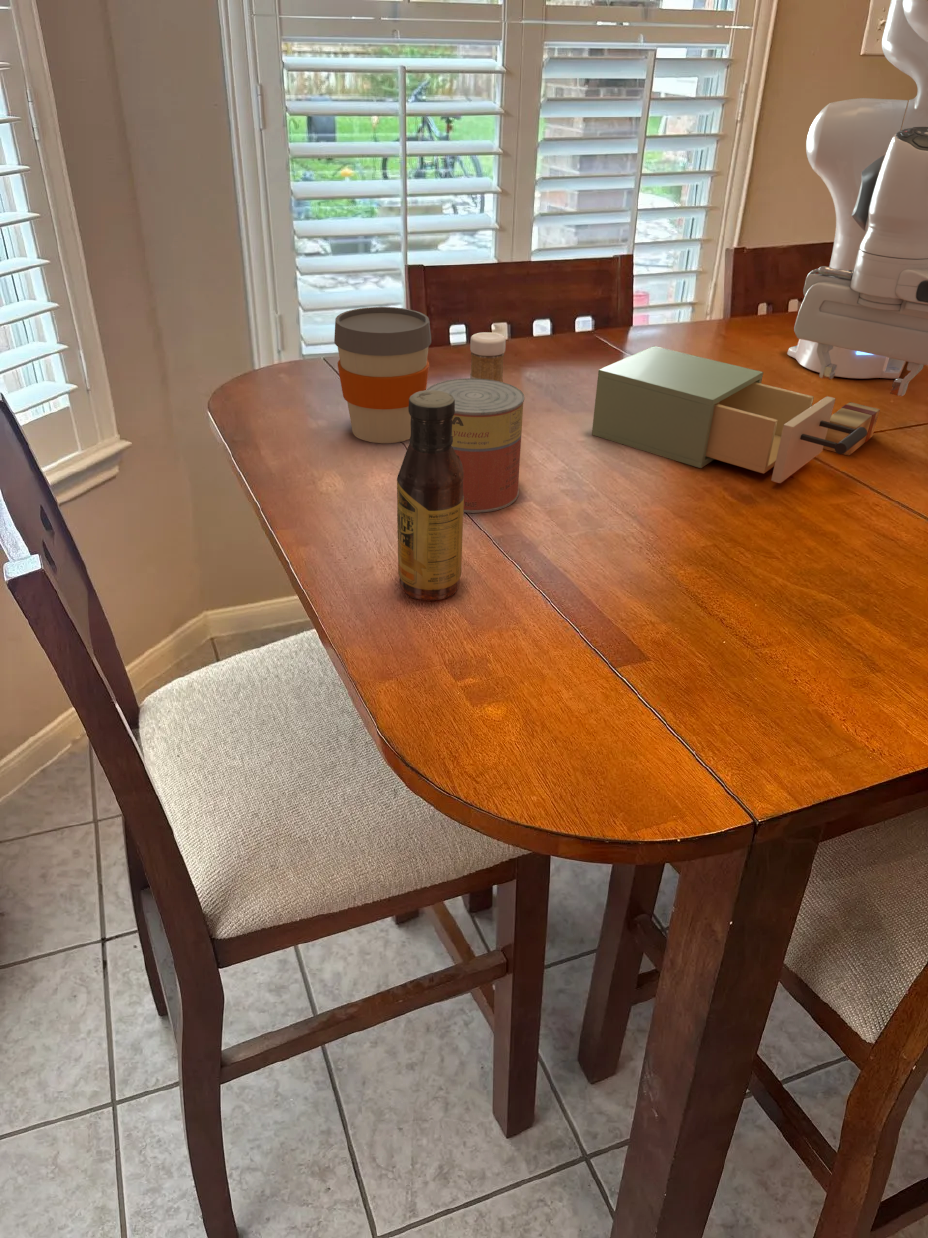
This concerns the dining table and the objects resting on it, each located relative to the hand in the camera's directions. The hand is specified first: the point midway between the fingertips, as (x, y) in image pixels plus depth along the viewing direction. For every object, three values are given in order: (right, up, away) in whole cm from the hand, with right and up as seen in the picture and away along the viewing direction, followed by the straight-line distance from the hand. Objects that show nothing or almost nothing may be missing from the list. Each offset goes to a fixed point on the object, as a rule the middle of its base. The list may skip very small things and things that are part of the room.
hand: (861, 385), depth 121 cm
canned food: (-52, -16, -11) cm, 55 cm away
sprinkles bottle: (-50, -6, +4) cm, 50 cm away
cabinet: (-24, -6, +5) cm, 25 cm away
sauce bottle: (-56, -28, -30) cm, 69 cm away
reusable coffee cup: (-63, -5, +4) cm, 64 cm away
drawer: (-13, -10, -2) cm, 17 cm away
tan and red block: (0, -7, +5) cm, 8 cm away
